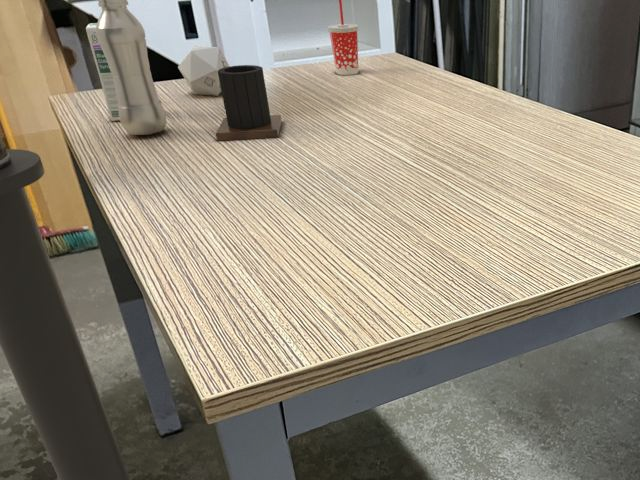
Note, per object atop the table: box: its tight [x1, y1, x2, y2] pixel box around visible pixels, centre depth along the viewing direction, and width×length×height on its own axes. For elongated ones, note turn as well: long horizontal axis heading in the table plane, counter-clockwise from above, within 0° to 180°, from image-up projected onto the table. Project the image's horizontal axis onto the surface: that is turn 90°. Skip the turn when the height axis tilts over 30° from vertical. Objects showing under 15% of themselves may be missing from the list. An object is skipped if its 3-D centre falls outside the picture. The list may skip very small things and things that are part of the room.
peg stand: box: [216, 114, 282, 142], centre depth 109 cm, size 9×9×8 cm
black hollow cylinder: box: [218, 64, 271, 129], centre depth 108 cm, size 6×6×8 cm
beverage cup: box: [327, 0, 359, 76], centre depth 144 cm, size 6×6×14 cm
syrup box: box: [85, 22, 120, 122], centre depth 116 cm, size 6×6×14 cm
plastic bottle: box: [96, 0, 167, 136], centre depth 105 cm, size 6×7×20 cm
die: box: [177, 45, 231, 97], centre depth 132 cm, size 8×9×10 cm
